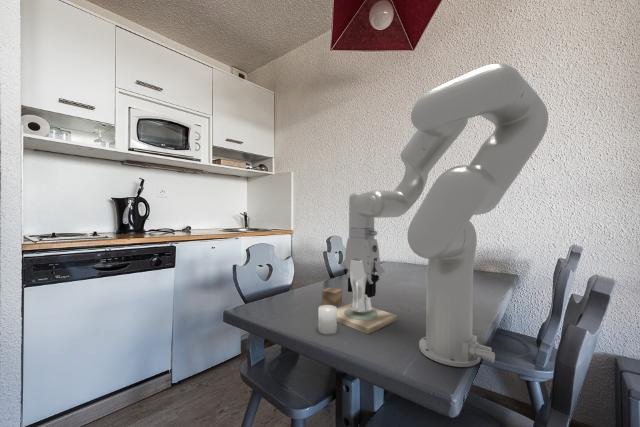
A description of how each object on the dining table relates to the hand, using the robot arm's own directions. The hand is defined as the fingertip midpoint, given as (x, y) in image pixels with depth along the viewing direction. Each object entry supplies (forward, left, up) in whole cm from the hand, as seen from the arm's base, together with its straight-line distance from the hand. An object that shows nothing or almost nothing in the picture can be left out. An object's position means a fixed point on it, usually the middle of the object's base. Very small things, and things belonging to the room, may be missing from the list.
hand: (361, 293), depth 82 cm
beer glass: (0, 0, -5) cm, 5 cm away
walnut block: (+15, -3, -8) cm, 17 cm away
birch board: (0, 0, -8) cm, 8 cm away
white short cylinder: (+1, +13, -8) cm, 15 cm away
